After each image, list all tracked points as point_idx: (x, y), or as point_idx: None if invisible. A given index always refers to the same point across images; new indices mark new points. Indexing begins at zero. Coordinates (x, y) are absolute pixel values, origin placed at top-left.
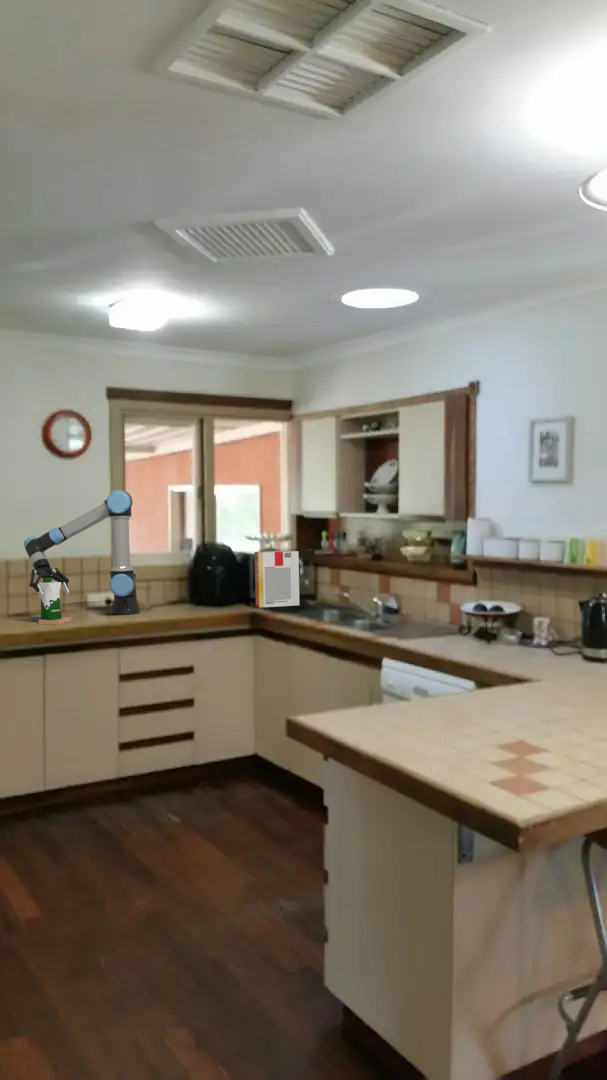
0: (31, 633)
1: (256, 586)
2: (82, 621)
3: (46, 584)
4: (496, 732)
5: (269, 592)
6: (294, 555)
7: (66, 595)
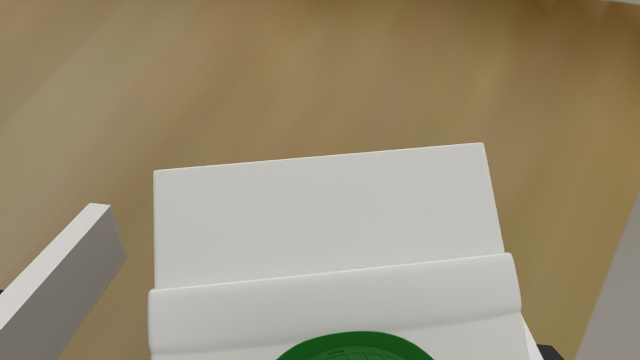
0: (586, 12)
1: None
2: (160, 165)
3: (490, 222)
4: None
5: None
6: None
7: (124, 255)
